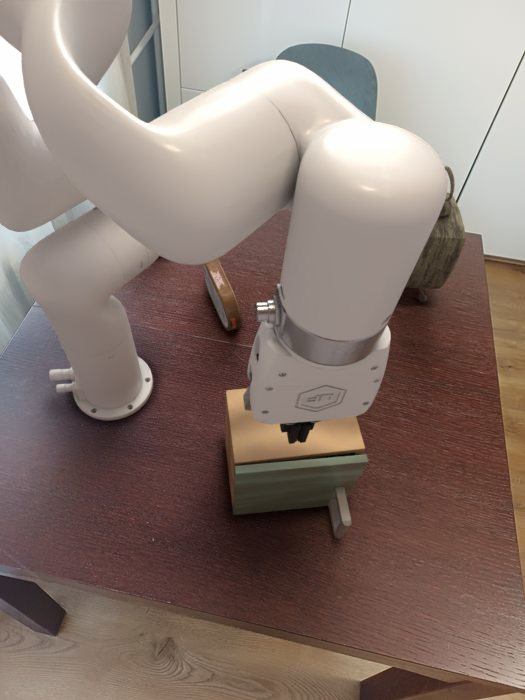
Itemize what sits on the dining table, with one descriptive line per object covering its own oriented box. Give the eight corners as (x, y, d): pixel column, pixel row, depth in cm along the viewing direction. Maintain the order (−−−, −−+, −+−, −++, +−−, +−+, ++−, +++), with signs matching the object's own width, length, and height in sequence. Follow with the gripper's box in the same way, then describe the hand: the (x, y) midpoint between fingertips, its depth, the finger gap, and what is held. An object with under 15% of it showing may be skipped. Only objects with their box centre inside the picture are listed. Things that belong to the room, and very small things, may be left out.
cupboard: (340, 493, 73) (365, 448, 60) (232, 506, 71) (234, 463, 58) (325, 432, 79) (345, 378, 66) (225, 442, 77) (225, 390, 64)
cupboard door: (350, 540, 69) (379, 504, 56) (236, 553, 67) (239, 518, 54) (341, 497, 73) (366, 454, 60) (232, 508, 71) (234, 465, 58)
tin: (243, 337, 89) (244, 306, 82) (226, 341, 88) (226, 311, 81) (216, 278, 96) (215, 246, 90) (200, 282, 96) (198, 249, 89)
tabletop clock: (432, 309, 95) (488, 202, 75) (385, 307, 95) (430, 199, 75) (418, 256, 104) (465, 147, 83) (376, 254, 103) (413, 144, 83)
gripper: (226, 366, 31) (221, 473, 46) (451, 350, 33) (376, 457, 48) (216, 276, 35) (215, 402, 50) (416, 268, 37) (357, 390, 52)
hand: (294, 429), depth 49 cm, fingers closed
